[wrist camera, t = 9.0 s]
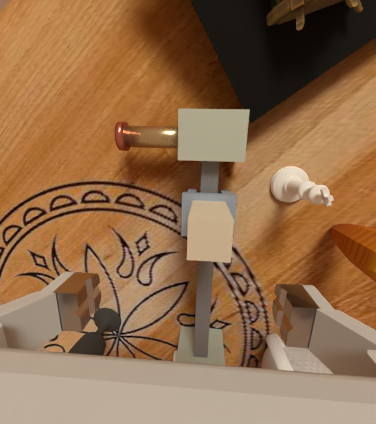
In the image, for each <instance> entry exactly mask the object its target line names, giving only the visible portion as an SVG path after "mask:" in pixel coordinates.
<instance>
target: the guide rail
mask: <svg viewBox="0 0 376 424" xmlns="http://www.w3.org/2000/svg"><path fill="white" fill-rule="evenodd" d="M249 111H250V109H178V160H188V161H202V164H201V189H200V193H218V179H219V163H220V161H225V162H245V155H246V144H247V133H248V122H249ZM212 276H213V262H212V261H198V264H197V289H196V314H195V327H186V326H181V329H180V336H179V344H178V350H175V351H174V356H173V361H175V362H187V363H200V364H213V365H225V358H224V347H223V337H222V329H211V328H209V325H210V309H211V292H212Z"/></svg>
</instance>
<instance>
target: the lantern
mask: <svg viewBox="0 0 376 424" xmlns="http://www.w3.org/2000/svg"><path fill="white" fill-rule="evenodd" d="M191 2H192V5H193V7H194V9H195V11H196V13H197V15H198V17H199V19H200V21H201V23H202V25H203V27H204V29H205V31H206V33H207V35H208V37H209V39H210V41H211V43H212V45H213V47H214V49H215V51H216V53H217V55H218V57H219V60H220V62H221V64H222V66H223V68H224V70H225V72H226V74H227V76H228V78H229V80H230V82H231V84H232V86H233V88H234V90H235V92H236V94H237V96H238V98H239V100H240V102H241V104H242V106H243V108H244V109H250V111H249V121H250V123H252V122H253V121H255V120H256V119H258V118H259V117H261V116H262V115H264V114H265V113H266V112H268V111H269V110H271V109H272V108H274V107H275V106H277V105H278V104H280V103H281V102H282V101H284V100H285V99H287V98H288V97H290V96H291V95H293V94H294V93H295V92H297V91H298V90H300V89H301V88H303V87H304V86H306V85H307V84H308V83H310V82H311V81H313V80H314V79H316V78H317V77H319V76H320V75H322V74H323V73H324V72H326V71H327V70H329V69H330V68H332V67H333V66H335V65H336V64H337V63H339V62H340V61H342V60H343V59H345V58H346V57H348V56H349V55H350V54H352V53H353V52H355V51H356V50H358V49H359V48H361V47H362V46H364V45H365V44H366V43H368V42H369V41H371V40H372V39H374V38H375V37H376V0H191Z"/></svg>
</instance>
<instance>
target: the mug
mask: <svg viewBox="0 0 376 424" xmlns="http://www.w3.org/2000/svg"><path fill="white" fill-rule="evenodd" d="M266 342H267V345H268V347H267V348H266V350H265V352H264V355H263V359H262V365H261V368H263V369H275V370H288V371H300V372H313V373H325V374H333V373H332V372H331V370H330V369H328V368H327V367H326V366H325V365H324V364H323V363H322V362H321V361H320V360H319V359H318V358H317V357H316V356H315V355H313V354H312V353H311V352H310V351H309V350H308V349H307V348H297V347H287V346H286V345H285V343H284V341H283V339H280V337H279V336H278V335H277V334H276V333H271V334H268V335H267V336H266Z"/></svg>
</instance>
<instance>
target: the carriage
mask: <svg viewBox="0 0 376 424" xmlns="http://www.w3.org/2000/svg"><path fill="white" fill-rule="evenodd" d="M236 202H237V195H236V194H231V193H230V192H229V190H220V193H197V189H189V190H188V192H183V193H182V223H181V236H187V260H195V261H212V262H229V263H231V251H232V239H233V237H234V225H235V213H236Z"/></svg>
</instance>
